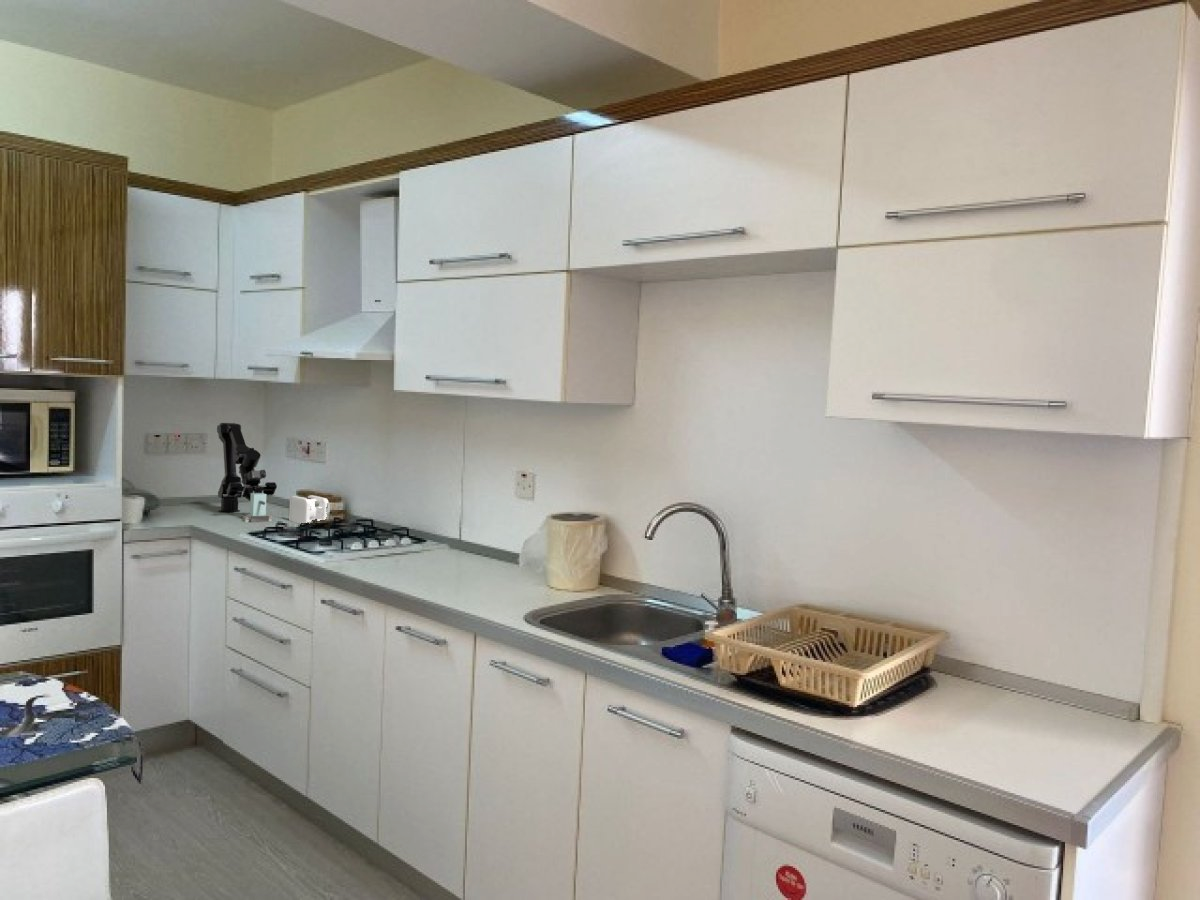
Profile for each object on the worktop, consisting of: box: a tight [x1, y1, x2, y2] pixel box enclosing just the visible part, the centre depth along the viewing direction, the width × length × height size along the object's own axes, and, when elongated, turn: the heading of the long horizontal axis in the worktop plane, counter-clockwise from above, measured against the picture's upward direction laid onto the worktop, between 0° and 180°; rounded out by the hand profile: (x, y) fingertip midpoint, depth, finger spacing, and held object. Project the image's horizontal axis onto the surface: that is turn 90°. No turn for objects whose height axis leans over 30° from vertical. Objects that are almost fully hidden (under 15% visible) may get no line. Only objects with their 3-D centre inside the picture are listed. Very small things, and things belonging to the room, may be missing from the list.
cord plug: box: [249, 492, 267, 522], centre depth 355 cm, size 9×6×11 cm, turn 39°
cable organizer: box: [288, 494, 330, 525], centre depth 362 cm, size 15×11×12 cm
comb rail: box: [242, 515, 273, 523], centre depth 360 cm, size 16×12×4 cm
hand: (256, 505), depth 359 cm, fingers closed, pressing on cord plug
